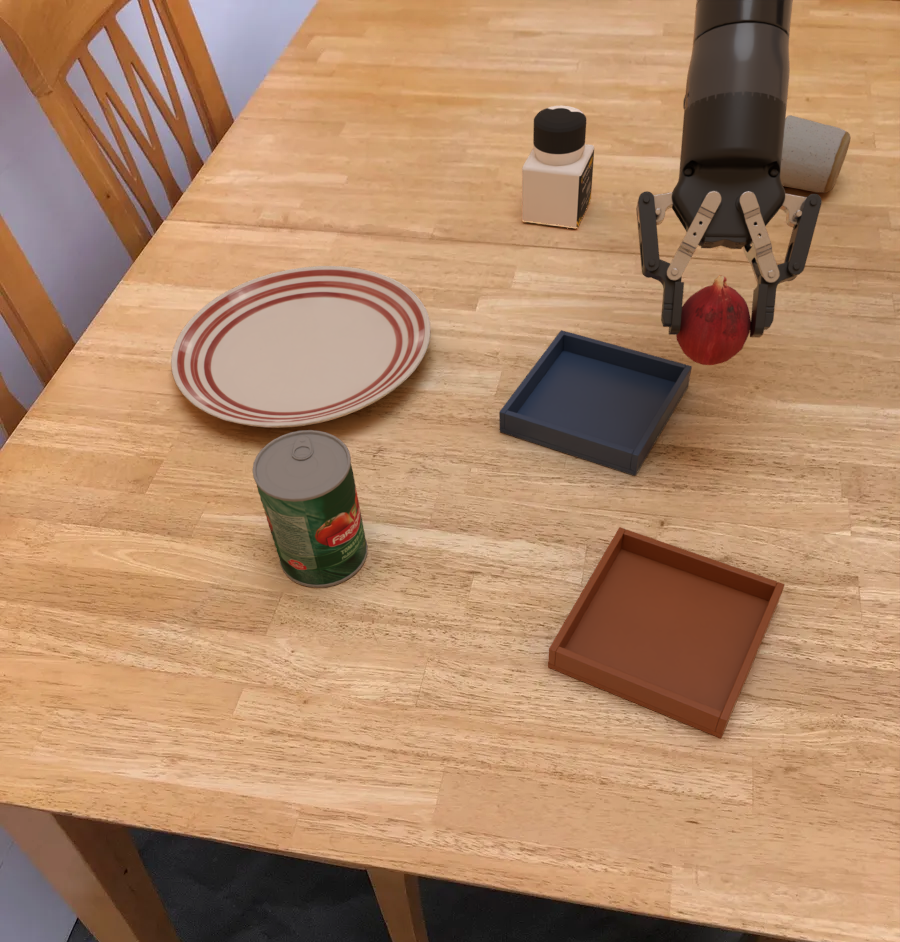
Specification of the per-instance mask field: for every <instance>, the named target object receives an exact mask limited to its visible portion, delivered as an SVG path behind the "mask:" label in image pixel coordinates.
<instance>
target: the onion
mask: <svg viewBox="0 0 900 942" xmlns="http://www.w3.org/2000/svg"><path fill="white" fill-rule="evenodd" d="M727 281H728V279H727V277H726V276H724V275H720V274H719V275H718V276H717V277H716V278H715V279H714V280H713V283H712V285H708V286H705V287H702V288H701V289H699V290H697V291H696V292H694V293H693V294H692V295H690V296H689V297H688V298H687V300H685V302H683V304H682V314H681V326H680V332H679V333H678V335H675V337H676V341H677V343H678V345H679V347H680V349H681V351H682V353H683V354H684V355H685V356H686V357H687V358H688V359H689V360H691V361H692V362H694V363H697V364H699V365H702V366H715V365H720V364H724V363H727V362H728V361H729V360H731V359H732V358H734V357H735V356H736V355H737V354H738V353H740V352H741V351H742V350H743V348H744V346H745V345H746V342H747V340H748V337H749V336H750V326H751V313H750V309H749V306H748V302H747V301H746V300H745V298H744V297H743V296H742V294H741V293H739V292H738V291H737V290H736V289H735V288H733V287H731V286H729V285H728V284H727Z"/></svg>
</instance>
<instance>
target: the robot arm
mask: <svg viewBox="0 0 900 942" xmlns="http://www.w3.org/2000/svg"><path fill="white" fill-rule="evenodd" d="M793 1H794V0H696V3H695V11H694V25H693V34H692V35H693V36H692V49H691V54H690V55H691V56H690V60H689V64H688V70H687V75H686V84H685V94H684V97H683V105H682V108H683V120H682V123H683V124H682V134H681V135H682V136H681V147H680V158H679V159H680V160H679V172H678V180H677V183H676V185H675V187H674V188H673V190H672V191H671V192H665V193H659V194H653V193H652V192H651V191H648V190H646V191H643V192H641V194H640V195H639V196H638V199H637V204H636V207H635V209H636V210H635V211H636V221H637V230H638V231H637V232H638V234H637V235H638V243H639V244H638V245H639V254H640V257H639V258H640V265H641V274H642V276H643V277H645V278H647V279H648V278H651V279H654V280H655V281H658V282H660V283H661V285H662V288H663V292H662V301H661V302H662V303H661V305H662V306H661V314H660V321H661V324H662V327H663V328H668V335H669V336H670V335H674V336H676V335H678V333H679V332H680V326H681V314H682V306H683V303H684V302H683V301H684V290H685V289H684V288H685V287H684V286H685V281H682V278H683V277H682V276H683V274H684V273H685V270H686V269H687V267H688V264H689V263H690V261H691V259H692V257H693V255H694V254H695V252H696V250H697V248H698V246H699V247H700V249H714V248H718V247H724V248H727V249H730V250H742V249H743V252H744V255H745V257H746V260H747V262H748V263H749V265H750V267H751V269H752V272H753V275H754V279H755V281H756V283H757V284H756V287H755V288H754V289H753V292H752V303H751V313H750V318H751V326H750V333H749V338H761V337H762V336H763V335H764V333H765V331H768V329H769V328H771V326H772V324H773V322H774V320H775V319H774V317H775V307H776V306H775V305H776V298H777V297H776V296H777V288H778V286H779V285H780V284H782V283H786V282H792V281H794V280H795V279H796V278H797V277H798V276H799V275H801V274H802V273H803V272H804V270H805V268H806V263H807V259H808V257H809V252H810V250H811V245H812V241H813V238H814V233H815V229H816V226H817V222H818V218H819V214H820V210H821V207H822V201H823V200H822V197H821V196H820V195H819V194H818V193H811V194H809V195H808V196H802V195H796V194H791V193H786V190H785V188H784V186H782V183H781V178H780V172H781V161H782V150H783V139H784V128H785V118H786V117H787V106H788V96H789V86H790V85H789V84H790V68H791V67H790V33H791V23H792V15H793V14H792V13H793V12H792V11H793ZM669 209H672V211H673V213H674V214H675V215H676V217H677V219H678V221H679V222H680V224H681V225H682V227H683V228H684V230H685V232H686V233H685V235H684V237H683V239H682V241H681V243H680V244H679V247H678V248H677V250H676V252H675V254H674V256H673V258H672V260H671V262H668V261H667V260H663V259H662V258H661V259H660V249H659V237H658V227H657V226H659V225H661V224H662V223H663V222H664V219H665V217H666V212H667V211H668V210H669ZM780 210H781V211H783V212H784V213H785V216H786V217H785V222H786V225H787V226H788V227H790V228H792V231H791V233H790V234H791V235H790V238H789V242H788V245H787V250H786V253H785V257H784V261H783V262H782V263H780V264H779V263H778V264H777V261H776V258H775V255H774V251H773V245H772V244H773V243H772V240H771V238H770V235H769V233H768V229H767V225H768V224H769V223H770V222H771V221H772V219H773V218H774V217H775V216H776V215H777V214H778V212H779V211H780Z"/></svg>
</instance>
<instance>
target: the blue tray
mask: <svg viewBox="0 0 900 942" xmlns="http://www.w3.org/2000/svg"><path fill="white" fill-rule="evenodd" d="M692 369H693V366H692V365H689V364H687V363H682V362H679V361H675V360H671V359H668V358H665V357H661V356H657V355H654V354H649V353H646V352H642V351H639V350H635V349H631V348H628V347H624V346H620V345H617V344H614V343H610V342H606V341H602V340H599V339H595V338H591V337H589V336H585V335H581V334H577V333H574V332H569V331H566V330H562V329H561V330H560V331H559V332H558V333H557V334H556V336H555V337H554V339H553V340H552V341H551V343H550V344H549V345H548V346H547V348H546V349H545V351H544V352H543V353H542V354H541V356H540V357H539V359H538V360H537V361H536V363H535V364H534V365H533V366H532V368H531V370H529V372H528V373H527V375H525V377H524V378H523V379H522V381H521V382H520V384H519V385H518V387H517V388H516V389H515V390H514V392H513V393H512V394H511V396H510V397H509V398H508V400H507V401H506V402H505V403H504V404H503V407H502V408H501V409H500V410H499V412H498V413H499V418H498V419H499V420H498V421H499V433H502V434H504V435H508V436H511V437H513V438H517V439H520V440H522V441H526V442H529V443H532V444H535V445H539V446H542V447H545V448H547V449H551V450H554V451H557V452H560V453H562V454H563V453H564V454H566V455H569V456H572V457H575V458H578V459H581V460H585V461H588V462H590V463H594V464H598V465H600V466H603V467H606V468H609V469H612V470H614V471H615V470H616V471H619V472H621V473H624V474H628V475H630V476H634V477H635V476H637V474H638V472H639V471H640V469H641V468H642V465H644V462H645V461H646V459H647V458H648V456H649V454H650V452H651V450H652V449H653V448H654V446H655V445H656V444H655V443H656V442H657V441H658V439H659V437H660V435H661V433H662V432H663V431H664V429H665V427H666V426H667V423H668V422H669V420H670V418H671V416H672V415H673V413H674V412H675V410H676V408H677V407H678V405H679V403H680V401H681V400H682V398H683V397H684V395H685V393H686V392H687V390H688V388H689V385H690V381H691V380H690V378H691V374H692Z"/></svg>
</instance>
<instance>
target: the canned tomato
mask: <svg viewBox="0 0 900 942" xmlns="http://www.w3.org/2000/svg"><path fill="white" fill-rule="evenodd" d="M352 466H353V465H352V458H351V453H350V450H349V448H348V447H347V445H346V444H345V443H344V442H343V441H342V440H341V439H340V438H339V437H337V436H336V435H333V434H331V433H329V432H327V431H326V432H325V431H321V430H315V429H314V430H312V429H308V430H307V429H305V430H297V431H291V432H288V433H285V434H283V435H280V436H278V437H276V438H274V439H272V440H271V441H270V442H268V443H266V445H265V446H263V448H261V449H260V450H259V452H258V453H257V455H256V456H255V459H254V461H253V464H252V477H253V478H252V479H253V480H254V482H255V484H256V488H257V493H258V495H259V497H260V501H261V504H262V508H263V511H264V515H265V517H266V521H267V523H268V528H269V531H270V535H271V537H272V540H273V544H274V548H275V550H276V553H277V556H278V559H279V565H280V568H281V569H282V571H283V574H285V576H286V577H287V578H288V579H290V580H291V581H292V582H294V583H296V584H298V585H300V586H304V587H308V588H317V589H319V588H328V587H333V586H337V585H339V584H342V583H344V582H346V581H348V580H349V579H351V578H352V577H353V576H355V575H356V574H357V573H358V572H359V571H360V570H361V568H363V566H364V564H365V562H366V561H367V560H366V559H367V556H368V548H369V547H368V542H367V539H366V532H365V527H364V523H363V517H362V512H361V506H360V501H359V496H358V492H357V491H358V490H357V486H356V480H355V476H354V470H353V467H352Z"/></svg>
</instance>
